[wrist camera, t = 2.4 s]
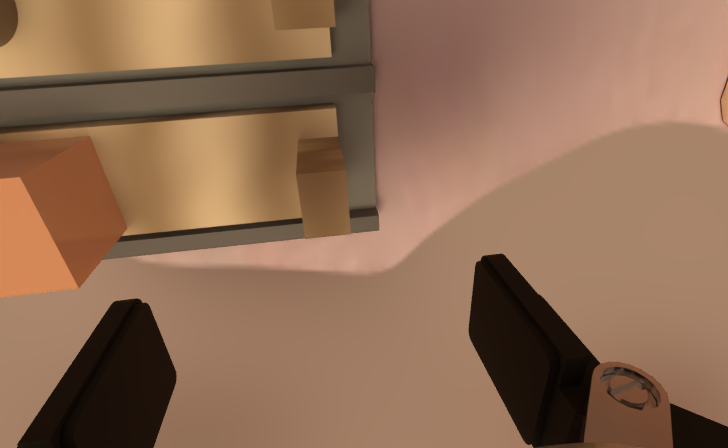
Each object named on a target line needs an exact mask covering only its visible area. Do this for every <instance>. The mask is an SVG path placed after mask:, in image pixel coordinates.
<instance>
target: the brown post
mask: <svg viewBox="0 0 728 448" xmlns="http://www.w3.org/2000/svg"><path fill="white" fill-rule="evenodd" d="M17 25H18V12H17V7H16V3H15V1H14V0H0V47H2V46H4V45H5V44H7V43H8V42H9V41H10V40H11V39H12V38H13V36H14V34H15V32H16V29H17Z"/></svg>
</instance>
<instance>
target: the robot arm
mask: <svg viewBox="0 0 728 448" xmlns="http://www.w3.org/2000/svg"><path fill="white" fill-rule="evenodd" d="M469 336H470V339H471V341H472V343H473V345H474V347H475V349H476V351H477V353H478V355H479V357H480V359H481V360H482V362H483V364H484V366H485V368H486V370H487V372H488V374H489V376H490V378H491V379H492V381H493V383H494V385H495V387H496V389H497V391H498V393H499V395H500V396H501V399H502V400H503V402H504V404H505V406H506V408H507V410H508V412H509V414H510V415H511V417H512V419H513V421H514V423H515V425H516V427H517V429H518V430H519V433H520V435H521V437H522V438H523V440H524V441H525V443H526V444H528V445H530V444H532V446H533V447H534V448H728V427H727V426H724V425H722V424H720V423H717V422H715V421H712V420H710V419H707V418H705V417H703V416H700V415H698V414H695V413H693V412H690V411H688V410H685V409H683V408H681V407H678V406H676V405H673V404H671V403H670V401H669V397H668V394H667V392H666V391H665V389H664V388H663V386H662V385H661V384H660V383H659V382H658V381H657V380H656V379H655V378H654V377H653V376H651V375H649V374H648V373H646V372H645V371H643V370H642V369H639V368H637V367H635V366H632V365H630V364H625V363H621V362H605V363H602V364H600V362H599V361H598V360H597V359H596V358H595V357H594V356H593V354H592V353H591V352H590V351H589V350H588V349H587V348H586V346H585V345H584V344H583V343H582V342H581V341H580V339H579V338H578V337H577V336H576V335H575V334H574V333H573V332H572V330H571V329H570V328H569V327H568V326H567V324H566V323H565V322H563V320H562V319H561V318H560V316H559V315H558V314H557V313H556V312H555V311H554V310H553V308H552V307H551V306H550V305H549V304H548V303H547V301H546V300H545V299H544V298H542V296H540V295H539V294H537V292H535V290H534V289H533V288H532V287H531V285H530V284H529V283H528V282H527V281H526V280H525V278H524V277H523V276H522V275H521V274H520V273H519V272H518V270H517V269H516V268H515V267H514V266H513V265H512V263H511V262H510V261H509V260H508V259H507V258H506V256H505V255H503V254H494V255H486V256H483V257H482V258H481V261H478V262H476V266H475V275H474V284H473V294H472V302H471V311H470V321H469ZM175 384H176V371H175V368H174V365H173V363H172V361H171V358H170V355H169V353H168V351H167V348H166V346H165V343H164V341H163V338H162V336H161V333H160V331H159V328H158V326H157V323H156V321H155V319H154V316H153V313H152V311H151V309H150V306H149V305H148V304H147V303H142V301H141V300H140V299H129V300H121V301H115V302H113V303H112V305H111V306H110V307H109V309H108V310H107V312H106V313H105V315H104V316H103V318H102V319H101V321H100V322H99V324H98V325H97V327H96V328H95V330H94V331H93V333H92V334H91V336H90V337H89V339H88V340H87V341H86V343H85V344H84V346H83V348H82V349H81V350H80V352H79V354H78V355H77V356H76V358H75V359H74V361H73V362H72V364H71V365H70V367H69V368H68V370H67V372H66V373H65V374H64V376H63V377H62V379H61V380H60V382H59V383H58V385H57V386H56V388H55V389H54V391H53V392H52V394H51V395H50V397H49V398H48V400H47V401H46V402H45V404H44V405H43V407H42V408H41V410H40V412H39V413H38V415H37V416H36V418H35V419H34V420H33V422H32V423H31V425H30V426H29V428H28V429H27V431H26V432H25V434H24V435H23V437H22V438H21V440H20V441H19V443H18V444H17V445H18V447H17V448H153V447H154V444H155V442H156V439H157V436H158V433H159V430H160V427H161V424H162V421H163V418H164V416H165V413H166V410H167V407H168V404H169V401H170V398H171V395H172V393H173V390H174V387H175Z"/></svg>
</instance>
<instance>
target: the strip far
mask: <svg viewBox="0 0 728 448" xmlns="http://www.w3.org/2000/svg"><path fill="white" fill-rule="evenodd" d="M83 136H90V138H91V141H92V143H93V146H94V148H95V151H96V153H97V155H98V158H99V160H100V163H101V165H102V168H103V170H104V173H105V175H106V177H107V180H108V182H109V185H110V187H111V190H112V192H113V195H114V197H115V199H116V202H117V204H118V207H119V209H120V212H121V214H122V217H123V219H124V221H125V224H126V226H127V230H126V231H125V232H124V234H123V235H122V236H127V235H136V234H146V233H156V232H166V231H176V230H186V229H196V228H206V227H216V226H225V225H235V224H245V223H255V222H265V221H275V220H285V219H295V218H302V221H303V228H304V234H305V239H308V238H318V237H327V236H337V235H346V234H351V229H350V215H349V202H348V188H347V174H346V167H345V163H344V159H343V155H342V151H341V146H340V142H339V138H338V129H337V116H336V107H335V104H334V103H328V104H315V105H302V106H288V107H275V108H262V109H248V110H235V111H222V112H208V113H195V114H182V115H168V116H155V117H142V118H129V119H115V120H102V121H89V122H75V123H62V124H49V125H35V126H22V127H9V128H0V143H6V142H19V141H32V140H45V139H57V138H70V137H83Z"/></svg>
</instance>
